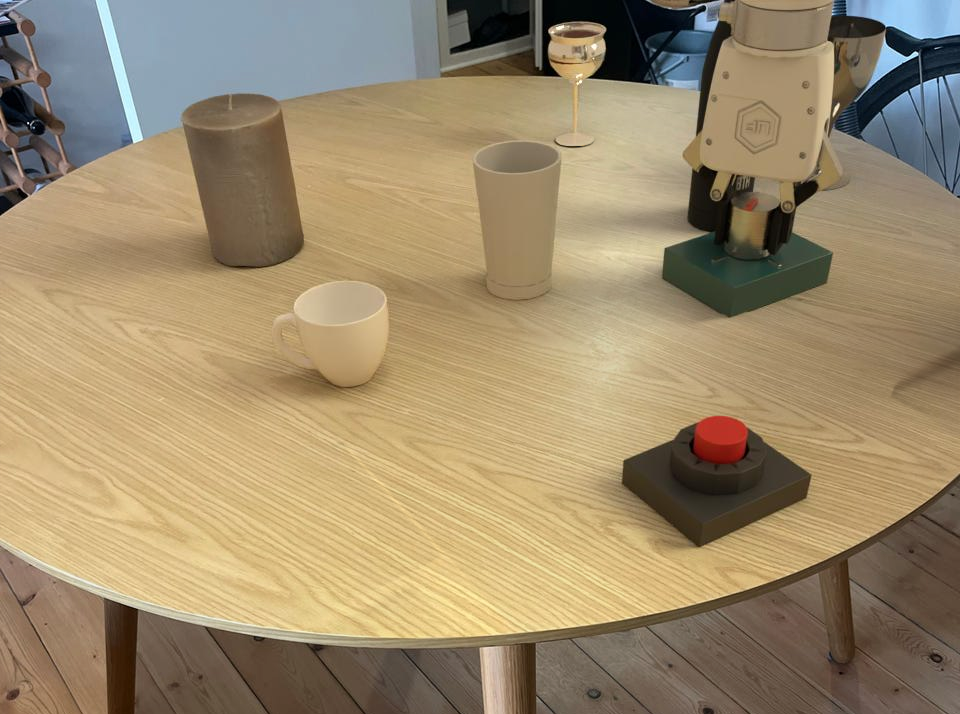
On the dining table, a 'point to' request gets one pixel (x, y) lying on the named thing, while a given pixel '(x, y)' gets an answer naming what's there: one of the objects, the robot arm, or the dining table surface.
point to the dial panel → (744, 273)
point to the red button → (720, 440)
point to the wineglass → (576, 61)
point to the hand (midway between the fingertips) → (749, 242)
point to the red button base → (714, 486)
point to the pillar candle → (244, 178)
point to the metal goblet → (851, 66)
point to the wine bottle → (699, 193)
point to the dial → (750, 225)
